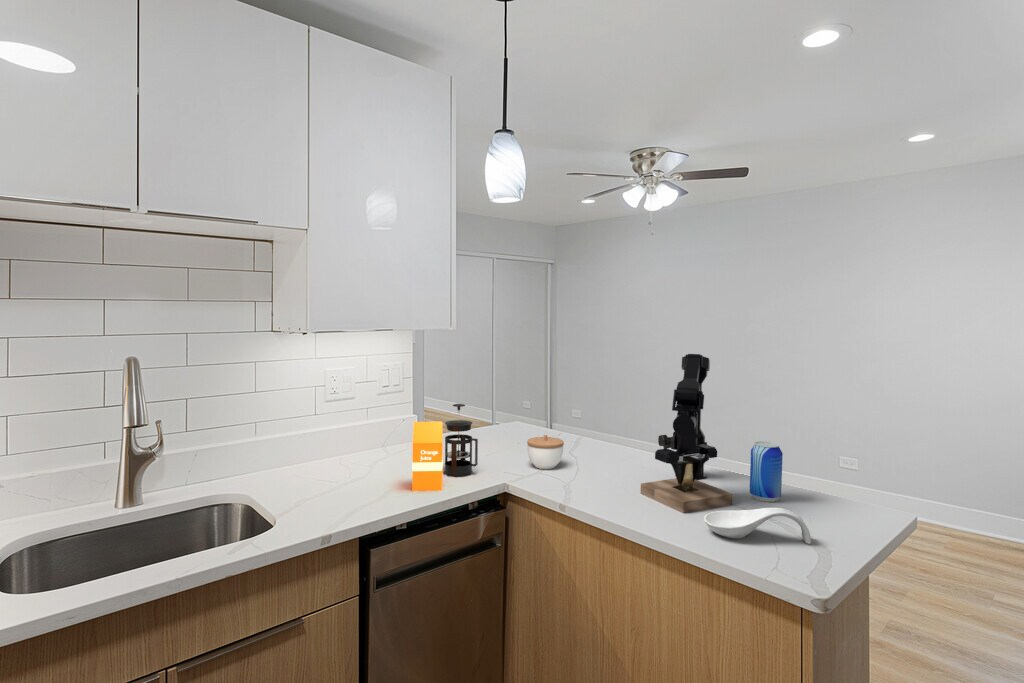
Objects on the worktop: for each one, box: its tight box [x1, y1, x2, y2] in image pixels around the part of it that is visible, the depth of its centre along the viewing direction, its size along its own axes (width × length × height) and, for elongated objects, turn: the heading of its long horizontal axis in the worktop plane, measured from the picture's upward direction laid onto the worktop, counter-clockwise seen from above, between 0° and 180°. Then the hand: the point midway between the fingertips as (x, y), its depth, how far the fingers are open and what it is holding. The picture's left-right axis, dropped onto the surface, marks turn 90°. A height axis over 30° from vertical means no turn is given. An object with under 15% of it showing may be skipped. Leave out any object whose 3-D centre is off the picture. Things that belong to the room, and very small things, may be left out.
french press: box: [443, 403, 479, 478], centre depth 184 cm, size 12×9×23 cm
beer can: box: [749, 441, 783, 503], centre depth 162 cm, size 8×8×16 cm
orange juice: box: [411, 421, 444, 492], centre depth 169 cm, size 8×9×20 cm
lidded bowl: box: [526, 434, 565, 470], centre depth 194 cm, size 13×13×11 cm
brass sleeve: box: [678, 461, 693, 492], centre depth 161 cm, size 4×4×8 cm
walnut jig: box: [640, 477, 734, 514], centre depth 161 cm, size 18×18×3 cm
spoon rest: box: [703, 507, 812, 545], centre depth 135 cm, size 24×12×7 cm, turn 76°
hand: (685, 482), depth 161 cm, fingers closed on brass sleeve, 4 cm apart
